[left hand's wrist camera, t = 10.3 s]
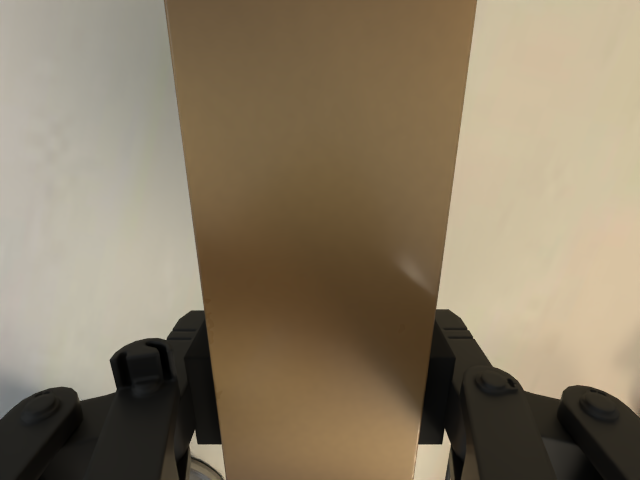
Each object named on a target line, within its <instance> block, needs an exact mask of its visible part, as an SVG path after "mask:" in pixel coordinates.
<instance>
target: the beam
mask: <svg viewBox="0 0 640 480" xmlns="http://www.w3.org/2000/svg"><path fill="white" fill-rule="evenodd" d="M164 4H165V12H166V20H167V27H168V35H169V43H170V50H171V58H172V66H173V74H174V81H175V89H176V97H177V104H178V112H179V120H180V127H181V135H182V143H183V150H184V158H185V166H186V173H187V181H188V189H189V197H190V204H191V212H192V220H193V227H194V235H195V243H196V250H197V258H198V266H199V273H200V281H201V289H202V296H203V304H204V312H205V320H206V327H207V335H208V343H209V350H210V358H211V366H212V373H213V381H214V389H215V396H216V404H217V412H218V419H219V427H220V435H221V443H222V450H223V458H224V466H225V473H226V480H413V479H414V472H415V464H416V457H417V449H418V441H419V434H420V426H421V419H422V411H423V404H424V396H425V389H426V381H427V374H428V366H429V359H430V351H431V344H432V336H433V329H434V321H435V313H436V306H437V298H438V291H439V283H440V276H441V268H442V261H443V253H444V246H445V238H446V231H447V223H448V216H449V208H450V200H451V193H452V185H453V178H454V170H455V163H456V155H457V148H458V140H459V133H460V125H461V118H462V110H463V103H464V95H465V88H466V80H467V72H468V65H469V57H470V50H471V42H472V35H473V27H474V20H475V12H476V5H477V0H164Z"/></svg>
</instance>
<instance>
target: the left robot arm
mask: <svg viewBox="0 0 640 480" xmlns="http://www.w3.org/2000/svg"><path fill="white" fill-rule="evenodd" d="M110 363H111V367H112V371H113V376H114V380H115V384H116V388H117V391H116V392H115V393H112V394H108V395H105V396H100V397H96V398H92V399H87V400H83V401H79V398H78V394H77V392H75V391H74V390H73V389H72V388H67V387H57V388H50V389H47V390H44V391H40V392H38V393H35V394H33V395H31V396H30V397H28V398H26V399H24V400H22V401H21V402H20V403H18V404H17V405H16V406H15V407H13V408H12V409H11V410H10V411H9V412H8V413H7V414H6V415H5V416H4V417H3V418H2V419H1V420H0V480H222V479H221V477H220V476H219V475H218V474H217V473H216V472H214V471H213V470H212V469H211V468H209V467H208V466H206V465H204V464H203V463H201V462H198V461H196V460H194V459H191V454H190V448H189V444H190V441H191V438H192V436H193V433H194V431H196V437H197V443H198V444H222V443H221V435H220V427H219V419H218V412H217V404H216V396H215V389H214V381H213V373H212V366H211V358H210V350H209V343H208V335H207V327H206V320H205V312H204V311H190V312H189V313H187V314H186V315H185V316H183V317H182V318H180V319H179V320H178V322H177V323H176V325H175V327H174V328H173V331H171V333H170V334H169V336H168V337H167V340H164V339H160V338H147V339H143V340H139V341H135V342H133V343H130V344H128V345H126V346H124V347H123V348H121V349H120V350H118V351H117V352H116V353H115V354H114V355H113V356H112V358H111V359H110ZM444 429H445V430H446V432H447V435H448V437H449V440H450V443H451V448H450V454H449V459H448V465H447V471H446V477H445V480H450V477H451V480H640V418H639V417H638V416H637V415H636V414H635V413H634V412H633V411H632V410H631V409H630V408H629V407H628V406H626V405H625V404H624V403H623V402H621V401H620V400H619V399H617V398H616V397H614V396H612V395H610V394H608V393H606V392H604V391H601V390H599V389H595V388H592V387H588V386H580V385H576V386H570V387H568V388H566V389H565V390H564V391H563V393H562V397H561V400H559V399H555V398H550V397H546V396H542V395H537V394H533V393H530V392H526V391H524V390H523V388H522V387H521V385H520V383H519V382H518V381H517V380H516V379H515V378H514V377H512V376H511V375H510V374H508V373H506V372H504V371H502V370H500V369H498V368H494V367H493V366H492V365H491V363H490V362H489V360H488V359H487V357H486V356H485V354H484V353H483V351H482V350H481V348H480V347H479V345H478V344H477V342H476V341H475V339H473V336H472V335H471V333H470V332H469V330H467V327H466V326H465V324H464V323H463V321H462V320H461V318H460V317H458V316H457V315H455V314H454V313H453V312H451V311H450V310H449V309H436V313H435V321H434V329H433V336H432V344H431V351H430V359H429V366H428V374H427V381H426V389H425V396H424V404H423V411H422V419H421V426H420V434H419V441H418V444H442V442H443V435H444Z"/></svg>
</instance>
